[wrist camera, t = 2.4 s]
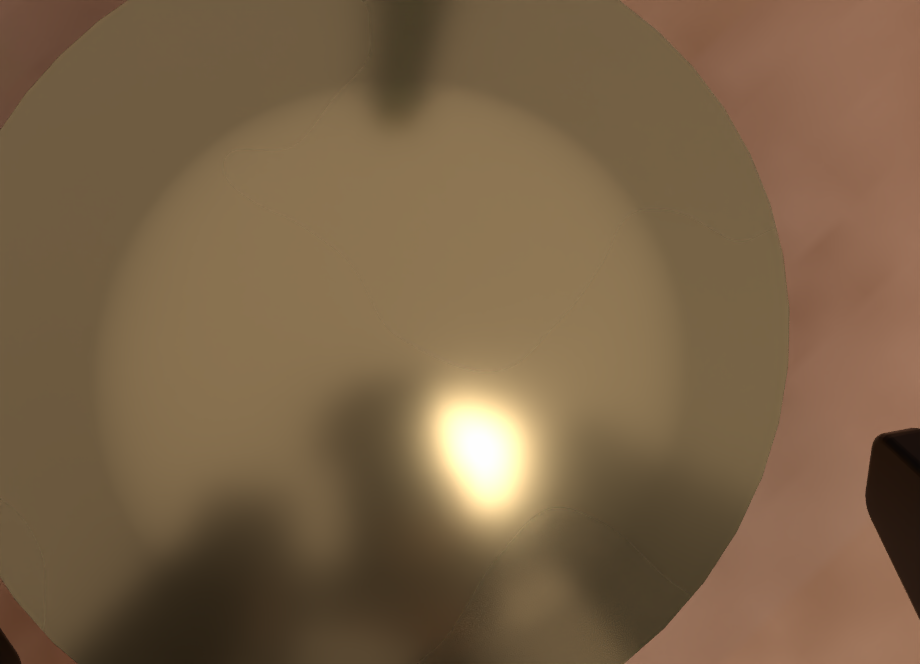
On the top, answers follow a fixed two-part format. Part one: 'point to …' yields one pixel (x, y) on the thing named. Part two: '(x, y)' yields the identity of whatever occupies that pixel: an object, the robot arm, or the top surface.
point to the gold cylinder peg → (377, 334)
